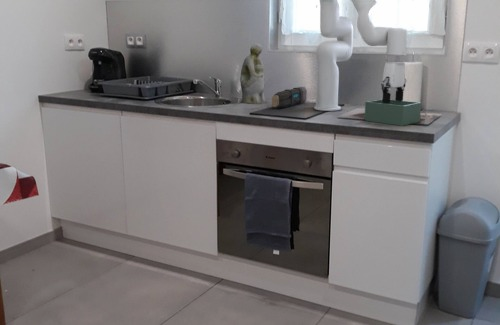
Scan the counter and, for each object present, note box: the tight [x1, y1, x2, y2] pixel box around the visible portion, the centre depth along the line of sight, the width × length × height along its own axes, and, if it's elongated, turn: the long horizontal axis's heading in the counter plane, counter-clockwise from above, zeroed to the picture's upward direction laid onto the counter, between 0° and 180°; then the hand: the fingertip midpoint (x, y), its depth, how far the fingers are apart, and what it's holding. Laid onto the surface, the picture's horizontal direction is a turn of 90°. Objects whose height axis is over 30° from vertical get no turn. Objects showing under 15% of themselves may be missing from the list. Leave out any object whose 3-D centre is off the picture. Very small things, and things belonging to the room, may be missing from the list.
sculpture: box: [239, 42, 266, 105], centre depth 271 cm, size 11×14×30 cm
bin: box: [364, 98, 422, 127], centre depth 215 cm, size 18×14×8 cm
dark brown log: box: [271, 86, 308, 109], centre depth 258 cm, size 11×7×30 cm
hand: (392, 101), depth 215 cm, fingers open, 9 cm apart
